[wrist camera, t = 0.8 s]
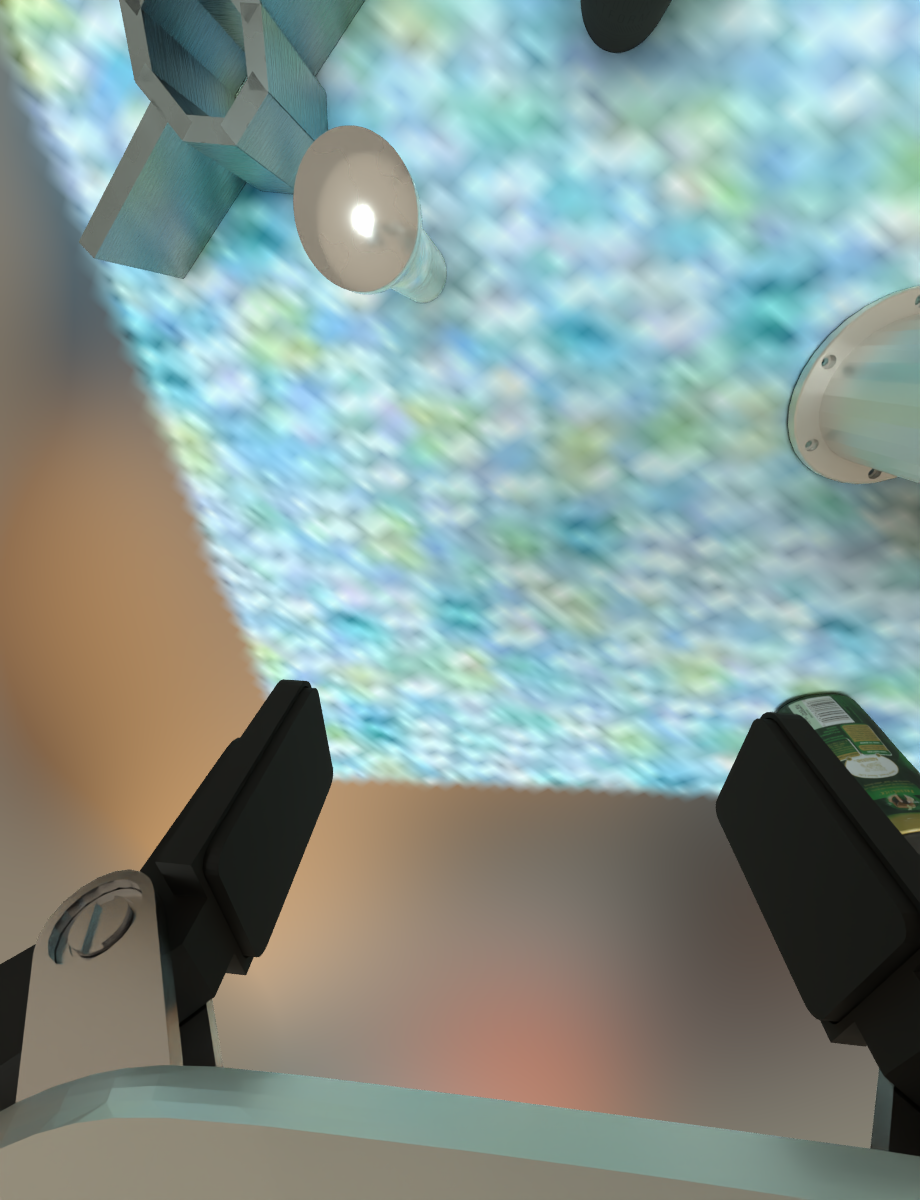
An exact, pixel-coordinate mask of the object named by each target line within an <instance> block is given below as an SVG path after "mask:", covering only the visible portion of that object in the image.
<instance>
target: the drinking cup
mask: <svg viewBox="0 0 920 1200" xmlns="http://www.w3.org/2000/svg"><path fill="white" fill-rule="evenodd" d="M671 1H672V0H581V10H582V16H583V20H584V24H585V27H586V29H587V31H588V33H589V35H590V37H591V38H592V40H593V41H594V42H595V43H596V44H597V45H598V46H599V47H601V48H602V49H604V50H607V51H610V52H624V51H627V50H630V49H632V48H634V47H636V46H637V45H639V44H640V43H641V42H643V41H644V40H645V39H646V38H647V37H648V36H649V35H650V34H651V32H652V31H653V30H654V28H655V27H656V26H657V24H658V22H659V21H660V19H661V17H662V16H663V14H664V12H665V11H666V9H667V7H668V6H669V4H670V2H671Z"/></svg>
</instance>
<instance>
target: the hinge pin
mask: <svg viewBox="0 0 920 1200" xmlns="http://www.w3.org/2000/svg"><path fill="white" fill-rule="evenodd" d="M293 206H294V216H295V222H296V227H297V231H298V234H299V237H300V240H301V243H302V245H303V247H304V249H305V251H306V253H307V255H308V257H309V258H310V260H311V261H312V263H313V264H314V266H315V267H316V268H317V269H318V270H319V271H320V272H321V273H322V274H323V275H324V276H325V277H326V278H327V279H328V280H330V281H331V282H333V283H334V284H336V285H338V286H340V287H342V288H344V289H347V290H349V291H352V292H355V293H360V294H377V293H381V292H384V291H386V290H388V289H390V288H391V289H393V290H394V291H396V292H398V293H400V294H402V295H404V296H406V297H408V298H410V299H412V300H413V301H416V302H419V303H427V302H430V301H432V300H434V299H436V298H437V297H438V296H439V295H440V293H441V292H442V290H443V288H444V286H445V282H446V276H447V271H446V264H445V261H444V258H443V256H442V254H441V253H440V251H439V250H438V249H437V247H436V246H435V244H434V243H433V242H432V240H431V239H430V238H429V236H428V235H427V234H426V232H425V231H424V229H423V228H422V213H421V205H420V200H419V195H418V192H417V189H416V186H415V184H414V181H413V179H412V177H411V175H410V173H409V171H408V170H407V168H406V166H405V164H404V163H403V161H402V159H401V158H400V156H399V155H398V153H397V152H396V151H395V149H394V148H393V147H392V146H391V145H390V144H389V143H388V142H387V141H386V140H385V139H383V138H382V137H381V136H379V135H378V134H376V133H374V132H373V131H371V130H368V129H366V128H363V127H358V126H341V127H336V128H333V129H331V130H329V131H327V132H325V133H324V134H322V135H321V136H320V137H318V138H317V139H316V140H315V141H314V142H313V143H312V145H311V146H310V147H309V148H308V150H307V151H306V153H305V155H304V156H303V158H302V161H301V163H300V165H299V168H298V172H297V175H296V179H295V185H294V195H293Z"/></svg>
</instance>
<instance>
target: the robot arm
mask: <svg viewBox="0 0 920 1200" xmlns="http://www.w3.org/2000/svg"><path fill="white" fill-rule="evenodd" d="M915 300H916V301H915ZM823 359H824V363H823V364H822V361H823ZM788 429H789V436H790V441H791V443H792V446H793V448H794V451H795V453H796V455H797V456H798V457H799V458H800V460H801V461H802V462H803V464H804V465H806V466H807V467H808V468H809V469H811V470H812V471H813V472H815V473H817V474H819V475H821V476H824V477H826V478H828V479H832V480H835V481H838V482H841V483H851V484H868V483H876V482H881V481H885V480H889V479H893V478H896V477H901V478H904V479H907V480H910V481H913V482H917V483H920V286H916V287H910V288H907V289H904V290H901V291H898V292H895V293H892V294H889V295H887V296H885V297H883V298H881V299H879V300H877V301H875V302H873V303H871V304H869V305H867V306H866V307H864V308H863V309H861V310H860V311H858V312H857V313H855V314H854V315H853V316H851V317H850V318H848V319H847V320H846V321H845V322H844V323H842V324H841V325H840V326H839V327H838V328H837V329H836V330H835V331H834V332H832V333H831V334H830V335H829V336H828V337H827V339H826V340H825V341H824V342H823V343H822V345H821V346H820V347H819V348H818V349H817V350H816V352H815V353H814V354H813V356H812V357H811V359H810V360H809V362H808V364H807V365H806V367H805V368H804V370H803V371H802V373H801V376H800V378H799V380H798V382H797V384H796V387H795V389H794V392H793V396H792V399H791V403H790V407H789V417H788ZM807 442H808V444H807V445H806V443H807ZM805 445H806V446H805ZM332 779H333V767H332V762H331V756H330V751H329V746H328V741H327V735H326V730H325V725H324V719H323V714H322V709H321V704H320V698H319V693H318V690H317V689H316V688H311V685H310V683H309V682H308V681H298V680H281V681H279V683H278V684H277V685H276V686H275V688H274V689H273V691H272V692H271V694H270V695H269V697H268V698H267V700H266V701H265V702H264V704H263V706H262V707H261V708H260V710H259V711H258V713H257V714H256V715H255V717H254V718H253V720H252V721H251V723H250V724H249V726H248V727H247V729H246V730H245V732H244V733H243V735H242V736H241V737H240V738H237V739H235V740H234V741H232V742H231V743H230V745H229V746H228V747H227V748H226V750H225V751H224V752H223V754H222V755H221V757H220V758H219V759H218V761H217V762H216V764H215V765H214V767H213V768H212V770H211V771H210V772H209V774H208V775H207V776H206V778H205V779H204V781H203V782H202V784H201V785H200V786H199V788H198V789H197V791H196V792H195V794H194V795H193V796H192V798H191V799H190V801H189V802H188V804H187V805H186V806H185V808H184V809H183V811H182V812H181V813H180V815H179V816H178V818H177V819H176V820H175V822H174V823H173V825H172V826H171V828H170V829H169V830H168V832H167V833H166V835H165V836H164V837H163V839H162V840H161V842H160V843H159V845H158V846H157V847H156V849H155V850H154V852H153V853H152V855H151V856H150V858H149V859H148V860H147V862H146V863H145V865H144V866H143V867H142V869H141V870H140V871H134V870H122V871H115V872H112V873H109V874H106V875H104V876H102V877H98V878H97V879H95V880H93V881H91V882H90V883H88V884H86V885H85V886H83V887H81V888H80V889H79V890H77V891H76V892H75V893H74V894H72V895H71V896H70V897H69V898H68V899H66V900H65V901H64V902H63V903H62V904H61V905H60V906H59V907H58V909H57V910H56V911H55V912H54V913H53V914H52V915H51V916H50V918H49V919H48V921H47V922H46V924H45V926H44V927H43V929H42V931H41V932H40V934H39V936H38V939H37V942H36V944H35V945H33V946H32V947H30V948H28V949H26V950H25V951H23V952H21V953H19V954H18V955H16V956H14V957H13V958H11V959H9V960H7V961H5V962H4V963H2V964H0V1200H920V855H919V854H918V853H917V852H916V850H915V849H914V848H913V847H912V846H911V844H910V843H909V842H908V841H907V840H906V838H905V837H904V836H903V835H902V834H901V832H900V831H899V830H898V829H897V828H896V827H895V825H894V824H893V823H892V822H891V821H890V819H889V818H888V817H887V816H886V815H885V813H884V812H883V811H882V810H881V809H880V807H879V806H878V805H877V804H876V803H875V801H874V800H873V799H872V798H871V797H870V795H869V794H868V793H867V792H866V791H865V790H864V788H863V787H862V786H861V785H860V784H859V782H858V781H857V780H856V779H855V778H854V776H853V775H852V774H851V773H850V772H849V770H848V769H847V768H846V767H845V766H844V764H843V763H842V762H841V761H840V760H839V758H838V757H837V756H836V755H835V754H834V752H833V751H832V750H831V749H830V748H829V747H828V745H827V744H826V743H825V742H824V741H823V739H822V738H821V737H820V736H819V735H818V733H817V732H816V731H815V730H814V729H813V727H812V726H811V725H810V724H809V723H808V721H807V720H806V719H805V718H804V717H802V716H801V715H798V714H789V713H774V712H766V713H765V714H763V715H762V717H761V718H760V719H756V720H754V722H753V723H752V725H751V728H750V730H749V732H748V734H747V736H746V738H745V740H744V743H743V745H742V747H741V749H740V751H739V753H738V756H737V758H736V760H735V762H734V764H733V766H732V768H731V771H730V773H729V775H728V777H727V779H726V781H725V784H724V786H723V788H722V790H721V792H720V794H719V796H718V799H717V801H716V813H717V817H718V819H719V822H720V824H721V826H722V828H723V830H724V832H725V834H726V837H727V839H728V841H729V843H730V845H731V847H732V849H733V852H734V854H735V856H736V858H737V860H738V862H739V864H740V866H741V869H742V871H743V873H744V875H745V877H746V879H747V881H748V884H749V886H750V888H751V890H752V892H753V894H754V897H755V898H756V900H757V903H758V905H759V907H760V909H761V912H762V914H763V916H764V918H765V920H766V922H767V924H768V926H769V928H770V931H771V933H772V935H773V937H774V939H775V941H776V944H777V945H778V948H779V950H780V952H781V954H782V956H783V958H784V961H785V963H786V965H787V967H788V969H789V971H790V974H791V976H792V978H793V980H794V982H795V984H796V986H797V989H798V991H799V993H800V995H801V997H802V999H803V1001H804V1003H805V1005H806V1007H807V1009H808V1010H809V1011H810V1013H811V1014H812V1015H813V1016H814V1017H815V1018H816V1019H819V1020H820V1021H821V1023H822V1025H823V1027H824V1029H825V1031H826V1033H827V1035H828V1038H829V1040H830V1041H831V1042H832V1043H841V1044H849V1045H857V1046H868V1048H869V1050H870V1051H871V1053H872V1055H873V1057H874V1059H875V1061H876V1063H877V1064H878V1066H879V1072H878V1082H877V1091H876V1101H875V1110H874V1119H873V1128H872V1137H871V1146H870V1149H868V1148H860V1147H853V1146H846V1145H839V1144H831V1143H824V1142H816V1141H808V1140H801V1139H794V1138H786V1137H779V1136H772V1135H764V1134H757V1133H750V1132H741V1131H735V1130H727V1129H720V1128H712V1127H705V1126H697V1125H690V1124H682V1123H675V1122H667V1121H659V1120H652V1119H644V1118H636V1117H629V1116H621V1115H613V1114H605V1113H598V1112H590V1111H583V1110H575V1109H567V1108H559V1107H552V1106H543V1105H536V1104H528V1103H521V1102H513V1101H505V1100H497V1099H489V1098H481V1097H474V1096H465V1095H458V1094H450V1093H442V1092H433V1091H426V1090H418V1089H409V1088H401V1087H393V1086H385V1085H377V1084H368V1083H361V1082H353V1081H345V1080H337V1079H329V1078H321V1077H311V1076H302V1075H292V1074H282V1073H272V1072H263V1071H252V1070H243V1069H232V1068H224V1067H223V1061H222V1055H221V1049H220V1043H219V1037H218V1031H217V1025H216V1019H215V1013H214V1007H213V1001H212V998H214V997H215V995H216V993H217V990H218V988H219V986H220V984H221V982H222V979H223V977H224V975H225V973H231V974H239V975H246V974H247V972H248V969H249V967H250V964H251V962H252V960H253V957H259V956H261V954H262V953H263V952H264V950H265V949H266V946H267V944H268V942H269V939H270V937H271V934H272V932H273V929H274V927H275V924H276V922H277V919H278V917H279V914H280V912H281V909H282V907H283V904H284V902H285V899H286V897H287V894H288V892H289V889H290V887H291V884H292V882H293V879H294V876H295V874H296V872H297V869H298V867H299V864H300V862H301V859H302V857H303V854H304V852H305V849H306V847H307V844H308V842H309V839H310V837H311V834H312V831H313V829H314V827H315V824H316V821H317V819H318V817H319V814H320V812H321V809H322V807H323V804H324V802H325V799H326V796H327V794H328V792H329V789H330V786H331V783H332Z"/></svg>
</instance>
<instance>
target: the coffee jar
mask: <svg viewBox="0 0 920 1200" xmlns="http://www.w3.org/2000/svg"><path fill="white" fill-rule="evenodd" d="M778 713H789V714H798V715H801V716H802V717H804V718H805V719H806V720H807V721H808V723H809V724H810V725H811V726H812V727H813V729H814V730H815V731H816V732H817V733H818V735H819V736H820V737H821V738H822V739H823V741H824V742H825V743H826V744H827V745H828V747H829V748H830V749H831V750H832V751H833V752H834V754H835V755H836V756H837V757H838V758H839V760H840V761H841V762H842V763H843V764H844V766H845V767H846V768H847V769H848V770H849V772H850V773H851V774H852V775H853V776H854V778H855V779H856V780H857V781H858V782H859V784H860V785H861V786H862V787H863V788H864V790H865V791H866V792H867V793H868V794H869V795H870V797H871V798H872V799H873V800H874V801H875V803H876V804H877V805H878V806H879V807H880V809H881V810H882V811H883V812H884V813H885V815H886V816H887V817H888V818H889V819H890V821H891V822H892V823H893V824H894V825H895V827H896V828H897V829H898V830H899V831H900V832H901V834H902V835H903V836H904V837H905V838H906V840H907V841H908V842H909V843H910V844H911V846H912V847H913V848H914V849H915V850H916V852H917V853H918V854H919V855H920V773H919V772H918V770H917V769H916V768H915V767H914V766H913V765H912V764H911V763H910V762H909V761H908V760H907V759H906V757H905V756H904V755H903V754H902V753H901V752H900V751H899V750H898V749H897V747H896V746H895V745H894V744H893V743H892V742H891V741H890V739H889V738H888V737H887V736H886V735H885V734H884V732H883V731H882V730H881V729H880V728H879V727H878V725H877V724H876V723H875V722H874V721H873V720H872V719H871V718H870V717H869V715H868V714H867V713H866V712H865V711H864V710H863V709H862V708H861V707H860V706H859V705H858V704H857V703H856V702H855V701H854V700H853V699H851V698H849V697H847V696H843V695H833V694H821V695H812V696H807V697H803V698H801V699H798V700H795V701H793V702H791V703H789V704H787V705H785V706H784V707H782V708H781V709H780V710H779V712H778Z"/></svg>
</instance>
